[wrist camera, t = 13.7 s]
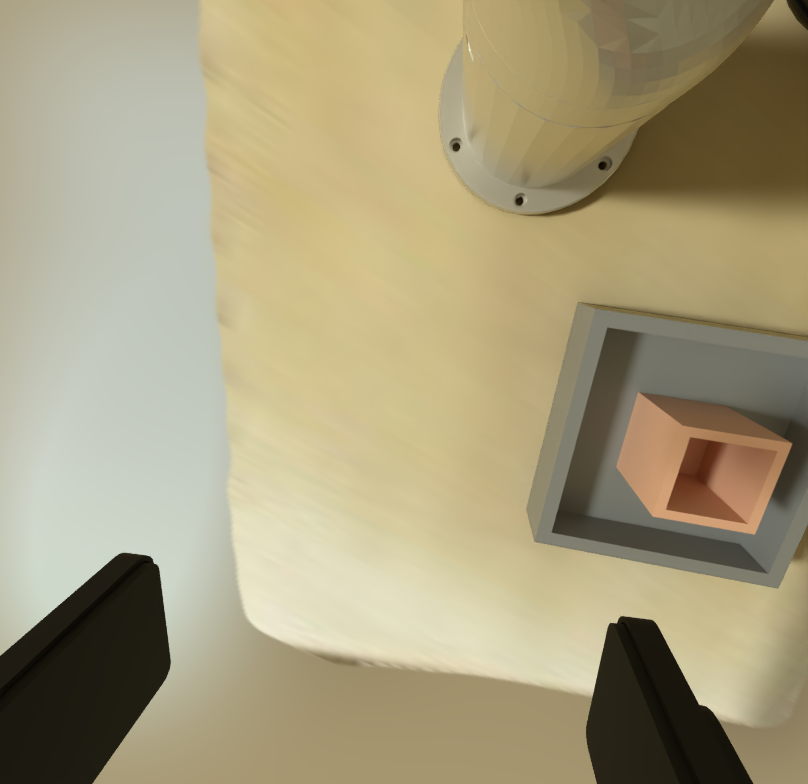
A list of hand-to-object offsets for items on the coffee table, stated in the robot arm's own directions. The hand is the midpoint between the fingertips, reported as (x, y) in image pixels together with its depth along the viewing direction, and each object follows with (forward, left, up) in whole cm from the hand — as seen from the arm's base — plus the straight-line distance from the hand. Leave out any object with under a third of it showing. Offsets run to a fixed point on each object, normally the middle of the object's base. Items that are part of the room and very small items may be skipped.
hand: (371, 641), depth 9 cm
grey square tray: (+3, +18, -27) cm, 32 cm away
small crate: (+3, +18, -26) cm, 31 cm away
